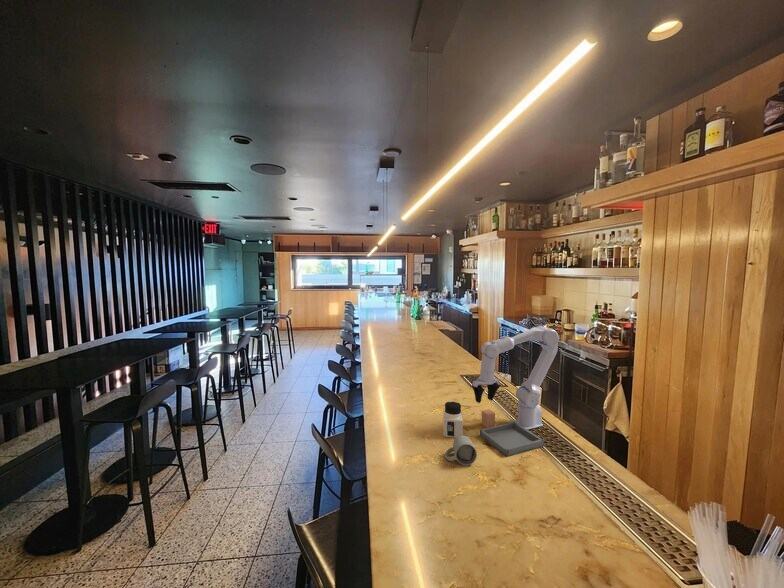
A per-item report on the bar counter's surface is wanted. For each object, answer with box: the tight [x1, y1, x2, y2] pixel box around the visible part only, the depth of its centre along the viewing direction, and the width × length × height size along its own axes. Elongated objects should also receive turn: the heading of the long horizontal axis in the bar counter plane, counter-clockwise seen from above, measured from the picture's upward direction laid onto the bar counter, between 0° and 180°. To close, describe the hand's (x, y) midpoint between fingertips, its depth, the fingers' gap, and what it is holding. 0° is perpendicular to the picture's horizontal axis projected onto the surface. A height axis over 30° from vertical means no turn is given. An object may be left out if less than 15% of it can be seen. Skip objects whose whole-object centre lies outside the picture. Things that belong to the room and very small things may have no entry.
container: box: [442, 400, 464, 439], centre depth 131 cm, size 8×8×13 cm
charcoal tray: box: [479, 421, 545, 458], centre depth 124 cm, size 18×16×2 cm
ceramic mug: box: [444, 434, 478, 466], centre depth 113 cm, size 11×8×8 cm
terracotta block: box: [481, 409, 496, 428], centre depth 137 cm, size 4×4×6 cm
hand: (484, 400), depth 136 cm, fingers open, 7 cm apart
